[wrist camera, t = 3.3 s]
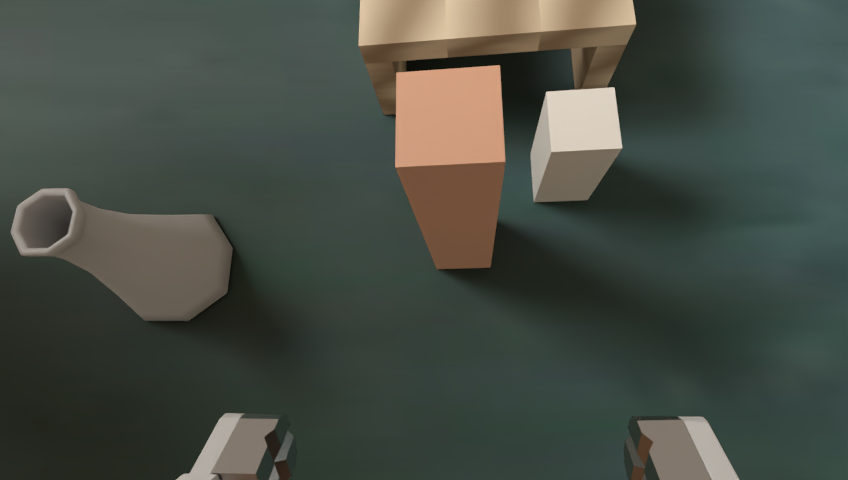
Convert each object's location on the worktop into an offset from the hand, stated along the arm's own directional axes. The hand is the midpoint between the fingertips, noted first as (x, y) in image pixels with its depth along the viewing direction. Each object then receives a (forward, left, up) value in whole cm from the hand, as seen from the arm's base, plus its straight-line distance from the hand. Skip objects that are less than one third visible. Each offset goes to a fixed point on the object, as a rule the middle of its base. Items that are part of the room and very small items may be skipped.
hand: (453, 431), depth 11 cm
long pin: (0, +9, -16) cm, 18 cm away
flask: (-18, +8, -16) cm, 25 cm away
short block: (+6, +13, -16) cm, 21 cm away
